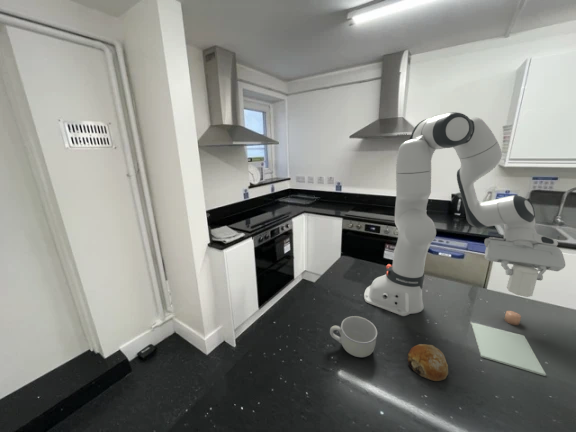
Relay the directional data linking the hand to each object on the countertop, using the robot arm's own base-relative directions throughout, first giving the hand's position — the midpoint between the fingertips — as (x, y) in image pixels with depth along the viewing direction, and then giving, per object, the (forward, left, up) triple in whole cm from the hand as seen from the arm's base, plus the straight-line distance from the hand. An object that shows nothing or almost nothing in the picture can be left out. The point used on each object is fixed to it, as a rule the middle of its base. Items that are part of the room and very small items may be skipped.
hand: (523, 277), depth 81 cm
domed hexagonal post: (0, +1, -6) cm, 6 cm away
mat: (-6, -15, -18) cm, 24 cm away
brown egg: (0, +1, -18) cm, 18 cm away
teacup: (-48, -37, -18) cm, 63 cm away
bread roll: (-27, -35, -18) cm, 48 cm away
